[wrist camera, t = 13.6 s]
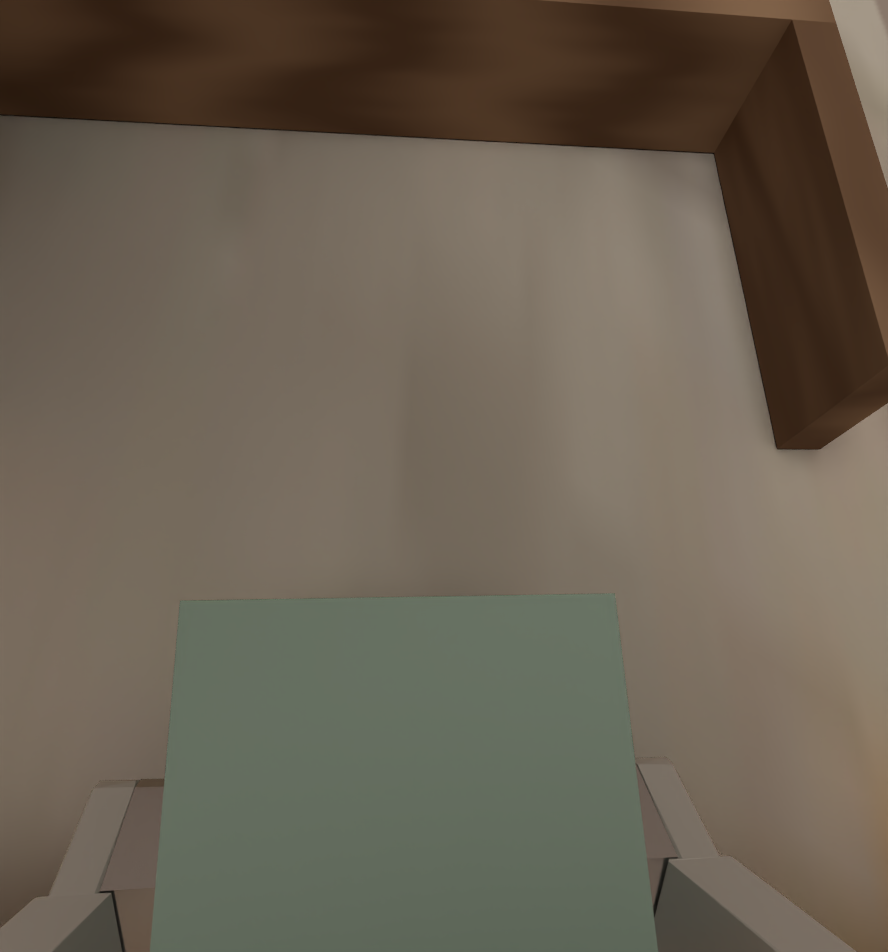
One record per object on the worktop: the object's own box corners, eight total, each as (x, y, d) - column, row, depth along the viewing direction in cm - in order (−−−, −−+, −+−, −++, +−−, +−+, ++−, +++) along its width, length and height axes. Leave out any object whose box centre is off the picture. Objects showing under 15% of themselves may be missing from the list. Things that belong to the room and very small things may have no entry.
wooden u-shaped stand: (-132, 442, 17) (-290, 339, 13) (-40, 79, 21) (-137, -89, 17) (819, 448, 20) (943, 365, 16) (743, 125, 24) (825, -11, 20)
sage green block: (256, 942, 13) (130, 1167, 6) (267, 681, 15) (180, 599, 7) (505, 925, 14) (677, 1112, 6) (490, 675, 15) (614, 593, 8)
